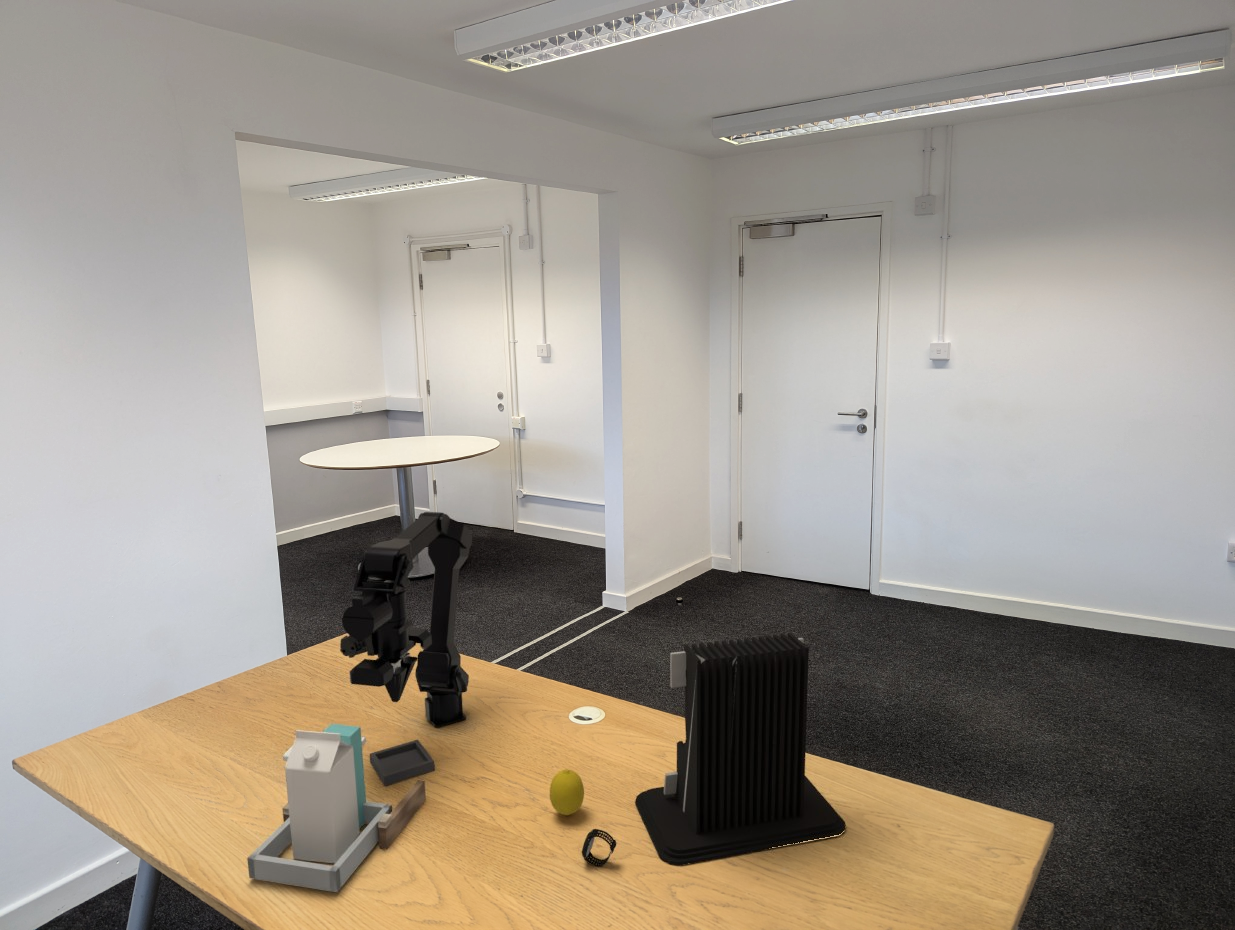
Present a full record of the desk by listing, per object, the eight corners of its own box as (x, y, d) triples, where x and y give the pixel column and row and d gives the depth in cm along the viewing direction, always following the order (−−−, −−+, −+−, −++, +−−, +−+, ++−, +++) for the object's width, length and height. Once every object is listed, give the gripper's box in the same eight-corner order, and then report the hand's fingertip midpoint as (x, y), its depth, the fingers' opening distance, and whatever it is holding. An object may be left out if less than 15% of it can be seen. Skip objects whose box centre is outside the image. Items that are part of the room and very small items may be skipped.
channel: (331, 787, 138) (329, 763, 138) (425, 799, 135) (424, 775, 134) (284, 834, 126) (282, 808, 125) (387, 849, 122) (385, 822, 121)
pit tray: (418, 748, 151) (417, 739, 151) (434, 770, 143) (434, 761, 143) (370, 762, 146) (369, 753, 146) (384, 786, 139) (383, 776, 138)
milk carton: (318, 830, 127) (308, 718, 123) (360, 834, 126) (351, 722, 122) (292, 860, 120) (282, 742, 117) (337, 864, 119) (327, 746, 115)
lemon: (589, 808, 132) (588, 763, 130) (576, 828, 127) (575, 782, 125) (558, 802, 133) (557, 758, 132) (544, 821, 128) (543, 775, 127)
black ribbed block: (797, 771, 142) (802, 609, 137) (852, 835, 124) (861, 652, 119) (631, 797, 135) (629, 628, 130) (664, 869, 117) (663, 676, 112)
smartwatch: (594, 850, 121) (593, 820, 120) (620, 864, 118) (619, 833, 117) (575, 864, 118) (574, 833, 117) (602, 879, 115) (601, 848, 114)
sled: (314, 812, 131) (306, 720, 128) (393, 823, 127) (386, 729, 125) (249, 878, 115) (238, 776, 112) (337, 892, 112) (328, 787, 109)
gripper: (375, 596, 150) (381, 674, 152) (317, 633, 132) (324, 722, 135) (430, 600, 147) (435, 679, 150) (379, 639, 129) (385, 728, 132)
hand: (395, 701), depth 142 cm, fingers closed
